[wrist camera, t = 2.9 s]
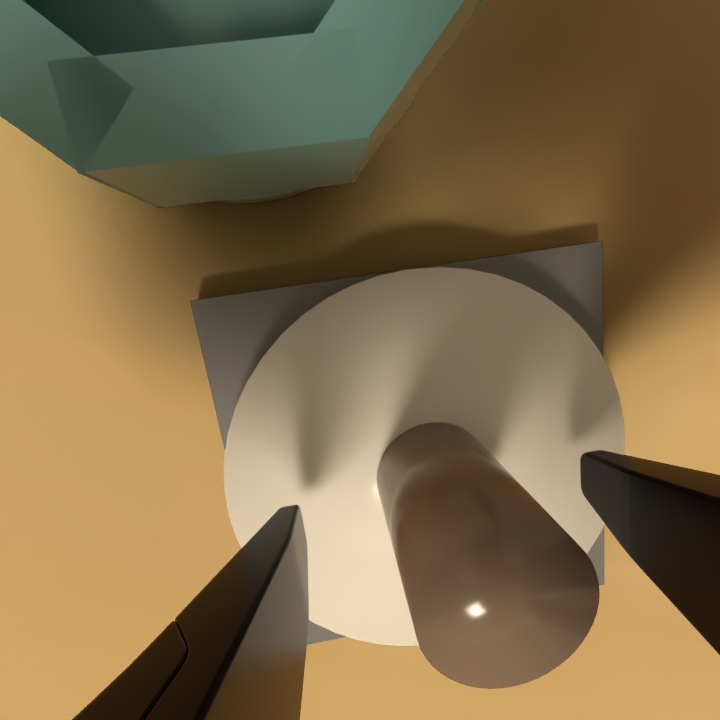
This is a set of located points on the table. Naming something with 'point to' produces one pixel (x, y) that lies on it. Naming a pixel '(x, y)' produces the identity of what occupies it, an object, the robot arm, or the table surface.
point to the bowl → (218, 88)
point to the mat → (285, 305)
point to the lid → (434, 467)
